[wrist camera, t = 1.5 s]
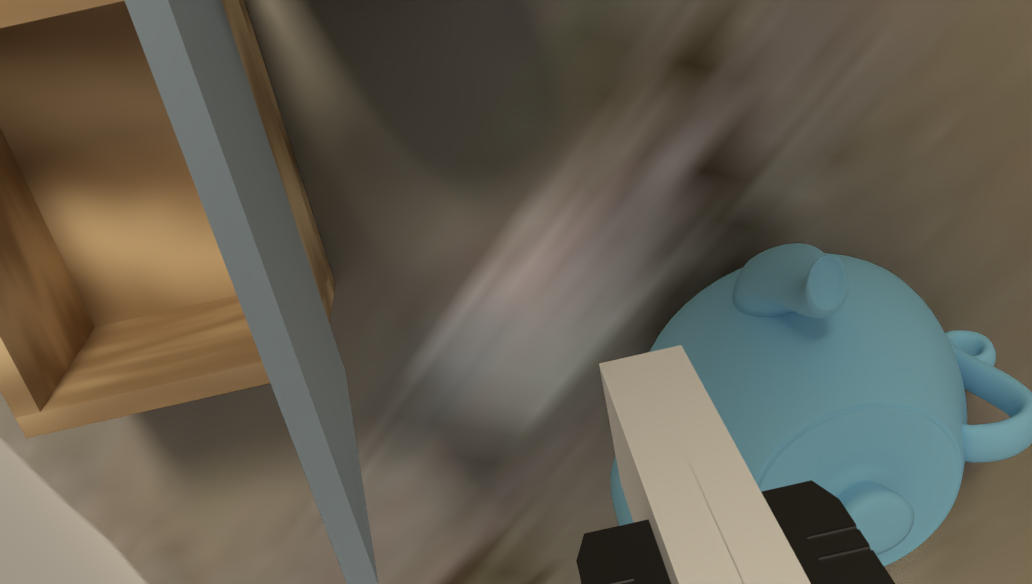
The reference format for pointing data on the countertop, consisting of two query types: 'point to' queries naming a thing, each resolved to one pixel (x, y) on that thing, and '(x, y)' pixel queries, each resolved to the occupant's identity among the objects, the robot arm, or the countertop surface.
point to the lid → (261, 254)
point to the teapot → (846, 389)
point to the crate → (115, 226)
